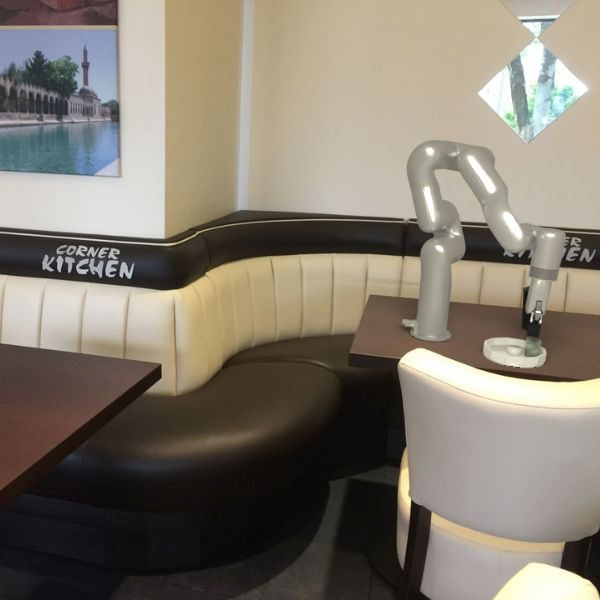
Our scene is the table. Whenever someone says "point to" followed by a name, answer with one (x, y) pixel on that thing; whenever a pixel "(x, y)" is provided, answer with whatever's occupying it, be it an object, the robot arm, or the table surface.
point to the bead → (532, 347)
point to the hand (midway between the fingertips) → (532, 331)
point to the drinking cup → (524, 308)
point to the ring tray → (505, 359)
